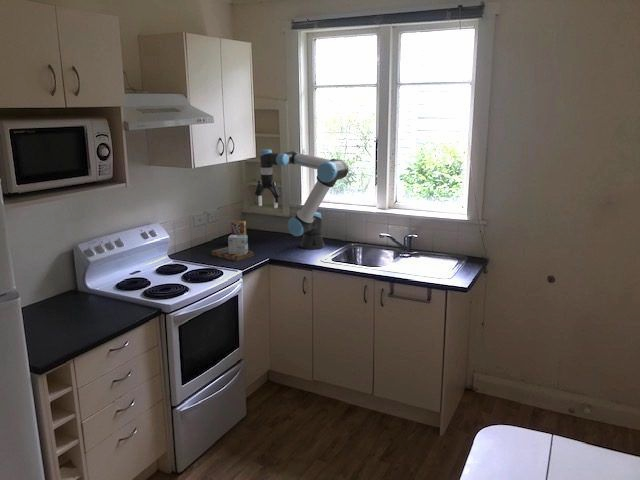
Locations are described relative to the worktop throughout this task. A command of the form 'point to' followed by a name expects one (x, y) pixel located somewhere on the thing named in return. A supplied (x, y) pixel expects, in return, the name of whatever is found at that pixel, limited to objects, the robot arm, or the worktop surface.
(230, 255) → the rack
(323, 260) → the worktop surface
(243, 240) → the light bulb box
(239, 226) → the candy box
